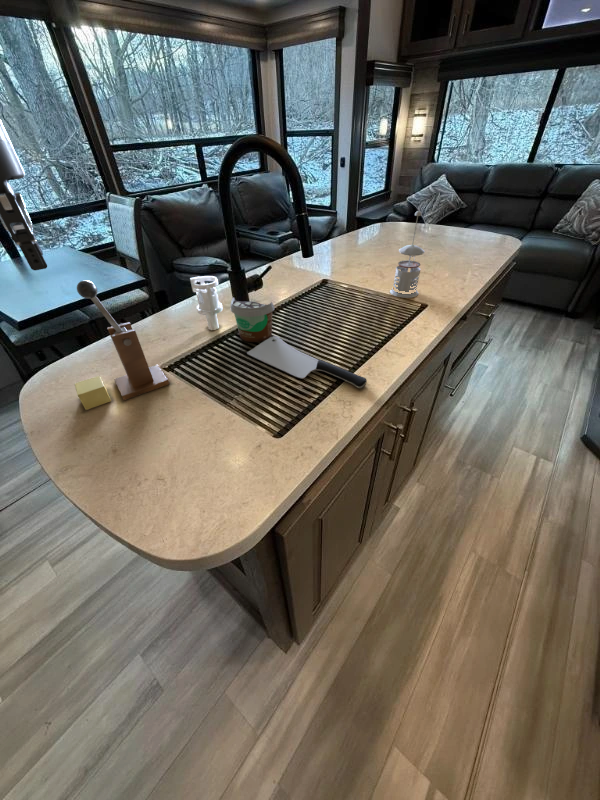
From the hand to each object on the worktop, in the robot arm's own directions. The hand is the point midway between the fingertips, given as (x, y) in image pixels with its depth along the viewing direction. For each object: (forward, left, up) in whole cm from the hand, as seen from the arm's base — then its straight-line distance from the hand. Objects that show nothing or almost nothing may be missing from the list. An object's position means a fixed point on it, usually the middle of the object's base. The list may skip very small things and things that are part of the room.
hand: (38, 262), depth 55 cm
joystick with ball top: (+4, +3, -11) cm, 12 cm away
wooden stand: (+6, +6, -28) cm, 29 cm away
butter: (-1, -1, -28) cm, 28 cm away
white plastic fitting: (+12, +35, -29) cm, 46 cm away
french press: (+69, +70, -29) cm, 102 cm away
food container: (+25, +30, -29) cm, 48 cm away
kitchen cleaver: (+42, +18, -29) cm, 53 cm away
